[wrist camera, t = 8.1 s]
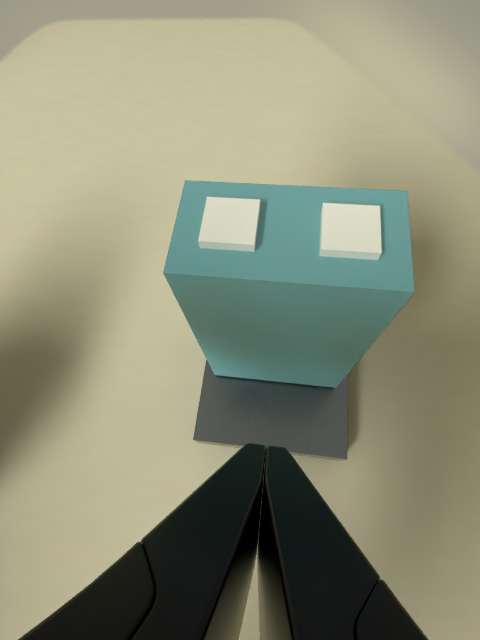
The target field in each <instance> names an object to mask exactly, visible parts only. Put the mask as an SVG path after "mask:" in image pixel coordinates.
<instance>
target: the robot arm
mask: <svg viewBox="0 0 480 640" xmlns="http://www.w3.org/2000/svg"><path fill="white" fill-rule="evenodd" d="M265 455H266V458H265ZM264 466H265V469H264ZM263 478H264V481H263ZM262 489H263V492H262ZM261 501H262V504H261ZM260 512H261V515H260ZM259 523H260V527H259ZM258 535H259V538H258ZM257 545H258V554H257ZM256 554H257V563H258V593H259V620H260V640H428V638H427V637H426V636H425V635H424V633H423V632H422V631H421V629H420V628H419V627H418V625H417V624H416V623H415V622H414V620H413V619H412V618H411V616H410V615H409V614H408V612H407V611H406V610H405V609H404V607H403V606H402V605H401V603H400V602H399V601H398V599H397V598H396V597H395V595H394V594H393V592H392V591H391V590H390V588H389V587H388V586H387V584H386V583H385V581H384V580H380V576H379V575H378V573H377V572H376V570H375V569H374V568H373V566H372V565H371V564H370V562H369V561H368V559H367V558H366V557H365V555H364V554H363V553H362V551H361V550H360V548H359V547H358V546H357V544H356V543H355V542H354V540H353V539H352V538H351V536H350V535H349V533H348V532H347V531H346V529H345V528H344V527H343V525H342V524H341V522H340V521H339V520H338V518H337V517H336V516H335V514H334V513H333V511H332V510H331V509H330V507H329V506H328V505H327V503H326V502H325V501H324V499H323V498H322V496H321V495H320V494H319V492H318V491H317V490H316V488H315V487H314V485H313V484H312V483H311V481H310V480H309V479H308V477H307V476H306V474H305V473H304V472H303V470H302V469H301V468H300V466H299V465H298V464H297V462H296V461H295V459H294V458H293V457H292V455H291V454H290V453H289V451H288V450H287V449H286V448H285V447H278V446H268V447H267V448H266V447H265V446H264V445H262V444H254V443H247V444H245V445H244V446H243V447H242V448H241V449H240V450H239V451H238V452H237V453H236V454H235V455H233V456H232V457H231V458H230V459H229V460H228V461H227V462H226V463H225V464H224V465H223V466H221V467H220V468H219V469H218V470H217V471H216V472H215V473H214V474H213V475H212V476H210V477H209V478H208V479H207V480H206V481H205V482H204V483H203V484H202V485H201V486H200V487H198V488H197V489H196V490H195V491H194V492H193V493H192V494H191V495H190V496H189V497H188V498H186V499H185V500H184V501H183V502H182V503H181V504H180V505H179V506H178V507H177V508H176V509H174V510H173V511H172V512H171V513H170V514H169V515H168V516H167V517H166V518H165V519H163V520H162V521H161V522H160V523H159V524H158V525H157V526H156V527H155V528H154V529H153V530H151V531H150V532H149V533H148V534H147V535H146V536H145V537H144V538H143V539H142V540H141V542H137V543H136V544H135V545H134V546H133V547H132V548H131V549H130V550H128V551H127V552H126V553H125V554H124V555H123V556H122V557H121V558H120V559H119V560H117V561H116V562H115V563H114V564H113V565H112V566H110V567H109V568H108V569H107V570H106V571H105V572H103V573H102V574H101V575H100V576H99V577H98V578H97V579H95V580H94V581H93V582H92V583H91V584H90V585H88V586H87V587H86V588H84V589H83V590H82V591H81V592H79V593H78V594H77V595H76V596H74V597H73V598H72V599H70V600H69V601H68V602H67V603H65V604H64V605H63V606H62V607H60V608H59V609H58V610H56V611H55V612H54V613H53V614H51V615H50V616H49V617H48V618H46V619H45V620H44V621H42V622H41V623H40V624H38V625H37V626H36V627H34V628H33V629H32V630H30V631H29V632H28V633H26V634H25V635H24V636H22V637H21V638H20V639H18V640H238V639H239V634H240V630H241V625H242V620H243V616H244V611H245V607H246V602H247V597H248V593H249V588H250V584H251V579H252V574H253V570H254V565H255V559H256Z"/></svg>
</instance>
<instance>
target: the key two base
mask: <svg viewBox="0 0 480 640" xmlns="http://www.w3.org/2000/svg"><path fill="white" fill-rule="evenodd" d="M347 393H348V374H347V375H346V376H345V378H344V379H343V380H342V381H341V383H340V384H339V385H338V386H337V387H336V388H333V387H324V386H314V385H305V384H295V383H286V382H277V381H267V380H258V379H248V378H239V377H229V376H220V375H214V373H213V371H212V369H211V367H210V365H209V363H208V361H207V360H206V366H205V372H204V378H203V384H202V390H201V396H200V402H199V408H198V414H197V420H196V426H195V432H194V438H193V440H194V441H197V442H199V443H207V444H215V445H222V446H230V447H238V448H242V447H243V446H244V445H245V444H247V443H254V444H262V445H264V446H265V447H266V448H267V447H268V446H278V447H285V448H286V449H287V450H288V451H289V453H290V454H293V455H301V456H309V457H317V458H325V459H333V460H346V459H347Z"/></svg>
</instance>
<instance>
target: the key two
mask: <svg viewBox="0 0 480 640" xmlns="http://www.w3.org/2000/svg"><path fill="white" fill-rule="evenodd" d="M163 273H164V275H165V277H166V279H167V281H168V283H169V285H170V287H171V289H172V291H173V293H174V295H175V297H176V299H177V301H178V303H179V305H180V307H181V309H182V311H183V313H184V315H185V317H186V319H187V321H188V323H189V325H190V327H191V329H192V331H193V333H194V335H195V337H196V339H197V341H198V343H199V345H200V347H201V349H202V351H203V353H204V355H205V357H206V359H207V361H208V363H209V365H210V367H211V369H212V371H213V373H214V375H220V376H229V377H239V378H248V379H258V380H267V381H277V382H286V383H295V384H305V385H314V386H324V387H333V388H336V387H337V386H338V385H339V384H340V383H341V381H342V380H343V379H344V378H345V376H346V375H347V374H348V373H349V372H350V370H351V369H352V368H353V367H354V365H355V364H356V363H357V362H358V361H359V359H360V358H361V357H362V356H363V354H364V353H365V352H366V351H367V350H368V348H369V347H370V346H371V345H372V343H373V342H374V341H375V340H376V339H377V337H378V336H379V335H380V334H381V332H382V331H383V330H384V329H385V328H386V326H387V325H388V324H389V323H390V321H391V320H392V319H393V318H394V317H395V315H396V314H397V313H398V312H399V310H400V309H401V308H402V307H403V306H404V304H405V303H406V302H407V301H408V299H409V298H410V297H411V296H412V295H413V293H414V278H413V264H412V250H411V236H410V222H409V208H408V194H407V191H395V190H374V189H353V188H332V187H312V186H291V185H270V184H249V183H228V182H208V181H187V180H185V183H184V187H183V191H182V196H181V200H180V204H179V208H178V212H177V217H176V221H175V225H174V229H173V234H172V238H171V242H170V246H169V250H168V255H167V259H166V263H165V267H164V272H163Z"/></svg>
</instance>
